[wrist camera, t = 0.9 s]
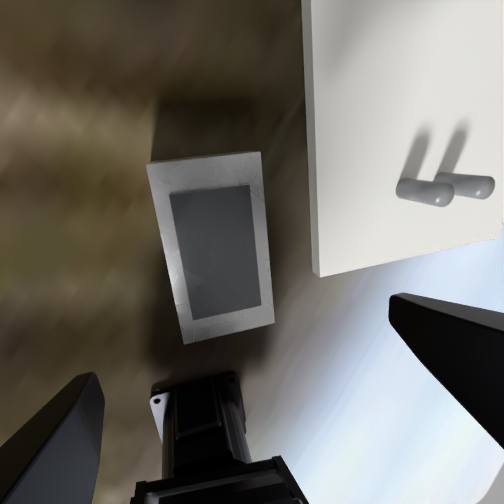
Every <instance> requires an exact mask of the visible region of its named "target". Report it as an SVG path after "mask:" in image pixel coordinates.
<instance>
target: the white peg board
mask: <svg viewBox="0 0 504 504" xmlns="http://www.w3.org/2000/svg"><path fill="white" fill-rule="evenodd" d="M301 5H302V29H303V54H304V78H305V102H306V126H307V150H308V174H309V198H310V222H311V247H312V271H313V272H314V273H315V274H316V275H318V276H319V277H324V276H329V275H333V274H338V273H342V272H347V271H351V270H356V269H360V268H365V267H369V266H374V265H378V264H383V263H387V262H392V261H396V260H401V259H405V258H410V257H414V256H419V255H423V254H427V253H432V252H436V251H441V250H445V249H450V248H454V247H459V246H463V245H468V244H472V243H477V242H481V241H486V240H490V239H495V238H499V237H501V231H502V226H503V221H504V0H301Z"/></svg>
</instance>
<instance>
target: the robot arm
mask: <svg viewBox="0 0 504 504" xmlns="http://www.w3.org/2000/svg"><path fill="white" fill-rule="evenodd" d="M388 317H389V322H390V324H391V325H392V327H393V328H394V329H395V330H396V332H397V333H398V334H399V336H400V337H401V338H402V339H403V341H404V342H405V343H406V344H407V346H408V347H409V348H410V349H411V351H412V352H413V353H414V354H415V356H416V357H417V358H418V359H419V361H420V362H421V363H422V364H423V365H424V366H425V367H426V368H427V369H428V370H429V372H430V373H431V374H432V375H433V376H434V377H435V378H436V379H437V380H438V381H439V382H440V383H441V384H442V385H443V386H444V387H445V388H446V389H447V390H448V391H449V392H450V394H451V395H452V396H453V397H454V398H455V399H456V400H457V401H458V402H459V403H460V404H461V405H462V406H463V407H464V408H465V409H466V410H467V411H468V412H469V413H470V414H471V416H472V417H473V418H474V419H475V420H476V421H477V422H478V423H479V424H480V425H481V426H482V427H483V428H484V429H485V430H486V431H487V432H488V433H489V434H490V435H491V437H492V438H493V439H494V440H495V441H496V442H497V443H498V444H499V445H500V446H501V447H502V448H503V449H504V313H501V312H496V311H492V310H487V309H482V308H477V307H472V306H467V305H462V304H457V303H452V302H447V301H442V300H437V299H433V298H428V297H423V296H418V295H413V294H408V293H398V294H395V295H392V296H391V297H390V299H389V316H388ZM232 377H233V378H232ZM229 378H232V379H229ZM156 398H159V399H158V400H155V399H156ZM150 405H151V408H152V412H153V415H154V418H155V422H156V425H157V428H158V432H159V435H160V438H161V442H162V479H161V480H156V481H151V482H146V481H140V482H136V489H135V496H134V497H131V501H130V504H309V503H308V501H307V499H306V498H305V496H304V494H303V492H302V491H301V489H300V487H299V486H298V484H297V482H296V481H295V479H294V477H293V476H292V474H291V472H290V470H289V469H288V467H287V465H286V464H285V462H284V460H283V459H282V457H281V455H280V456H274V457H272V459H268V460H262V461H257V462H252V460H251V456H250V453H249V449H248V445H247V441H246V438H245V433H246V426H245V420H244V414H243V407H242V401H241V395H240V389H239V382H238V377H237V374H236V373H235V372H233V371H229V372H226V373H222V374H218V375H215V376H211V377H208V378H204V379H200V380H197V381H193V382H189V383H186V384H182V385H178V386H175V387H171V388H167V389H164V390H160V391H156V392H154V393H152V394H151V396H150ZM104 407H105V399H104V394H103V392H102V389H101V386H100V383H99V381H98V378H97V375H96V374H95V373H94V372H88V373H84V374H80V375H77V376H76V377H75V378H73V379H72V380H71V381H70V382H69V383H68V384H67V385H66V386H65V387H64V388H63V389H62V390H61V391H60V392H59V393H57V394H56V395H55V396H54V397H53V398H52V399H51V400H50V401H49V402H48V403H47V404H46V405H45V406H44V407H43V408H42V409H40V410H39V411H38V412H37V413H36V414H35V415H34V416H33V417H32V418H31V419H30V420H29V421H28V422H27V423H26V424H24V425H23V426H22V427H21V428H20V429H19V430H18V431H17V432H16V433H15V434H14V435H13V436H12V437H11V438H10V439H8V440H7V441H6V442H5V443H4V444H3V445H2V446H1V447H0V504H91V503H92V498H93V493H94V488H95V483H96V478H97V473H98V468H99V461H100V452H101V441H102V430H103V418H104Z"/></svg>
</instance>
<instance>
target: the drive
mask: <svg viewBox="0 0 504 504" xmlns="http://www.w3.org/2000/svg"><path fill="white" fill-rule="evenodd" d="M146 167H147V172H148V177H149V181H150V186H151V191H152V196H153V200H154V205H155V210H156V215H157V219H158V224H159V229H160V234H161V238H162V243H163V248H164V252H165V257H166V262H167V267H168V271H169V276H170V281H171V286H172V290H173V295H174V300H175V305H176V309H177V314H178V319H179V324H180V328H181V333H182V338H183V342H184V344H189V343H193V342H197V341H201V340H206V339H210V338H214V337H218V336H222V335H227V334H231V333H235V332H239V331H244V330H248V329H252V328H256V327H260V326H265V325H269V324H273V323H275V320H274V308H273V296H272V284H271V272H270V260H269V248H268V236H267V224H266V212H265V200H264V188H263V176H262V163H261V152H257V151H240V152H231V153H222V154H213V155H203V156H194V157H185V158H176V159H167V160H158V161H150V162H149V163H147V164H146Z"/></svg>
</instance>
